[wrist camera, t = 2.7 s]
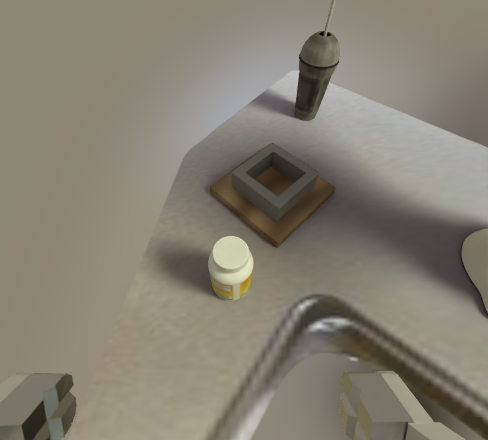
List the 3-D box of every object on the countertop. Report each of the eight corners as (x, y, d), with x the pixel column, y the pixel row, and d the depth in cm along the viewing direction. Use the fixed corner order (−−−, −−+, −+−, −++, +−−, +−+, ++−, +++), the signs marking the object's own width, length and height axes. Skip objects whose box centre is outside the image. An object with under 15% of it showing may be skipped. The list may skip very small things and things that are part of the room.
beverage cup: (284, 120, 56) (305, 4, 39) (292, 101, 59) (314, -11, 43) (318, 128, 54) (354, 12, 38) (324, 108, 58) (359, -5, 41)
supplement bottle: (216, 306, 34) (210, 281, 26) (208, 269, 37) (200, 236, 29) (255, 295, 35) (261, 268, 27) (245, 260, 38) (247, 225, 30)
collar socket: (332, 193, 45) (342, 173, 41) (276, 247, 39) (281, 231, 35) (268, 150, 50) (271, 128, 46) (210, 192, 44) (207, 172, 40)
